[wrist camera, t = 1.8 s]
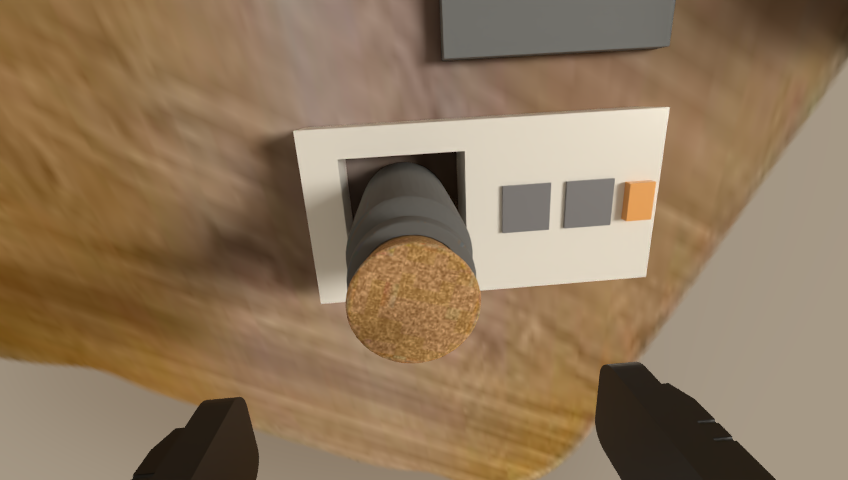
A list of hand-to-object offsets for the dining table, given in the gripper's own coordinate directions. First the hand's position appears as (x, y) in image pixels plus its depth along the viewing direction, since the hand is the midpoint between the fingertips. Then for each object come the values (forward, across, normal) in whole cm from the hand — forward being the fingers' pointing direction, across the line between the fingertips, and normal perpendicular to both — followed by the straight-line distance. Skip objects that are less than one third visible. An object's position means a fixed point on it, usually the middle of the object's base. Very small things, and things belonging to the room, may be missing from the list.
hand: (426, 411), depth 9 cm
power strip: (+20, -5, 0) cm, 20 cm away
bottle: (+20, 0, 0) cm, 20 cm away
